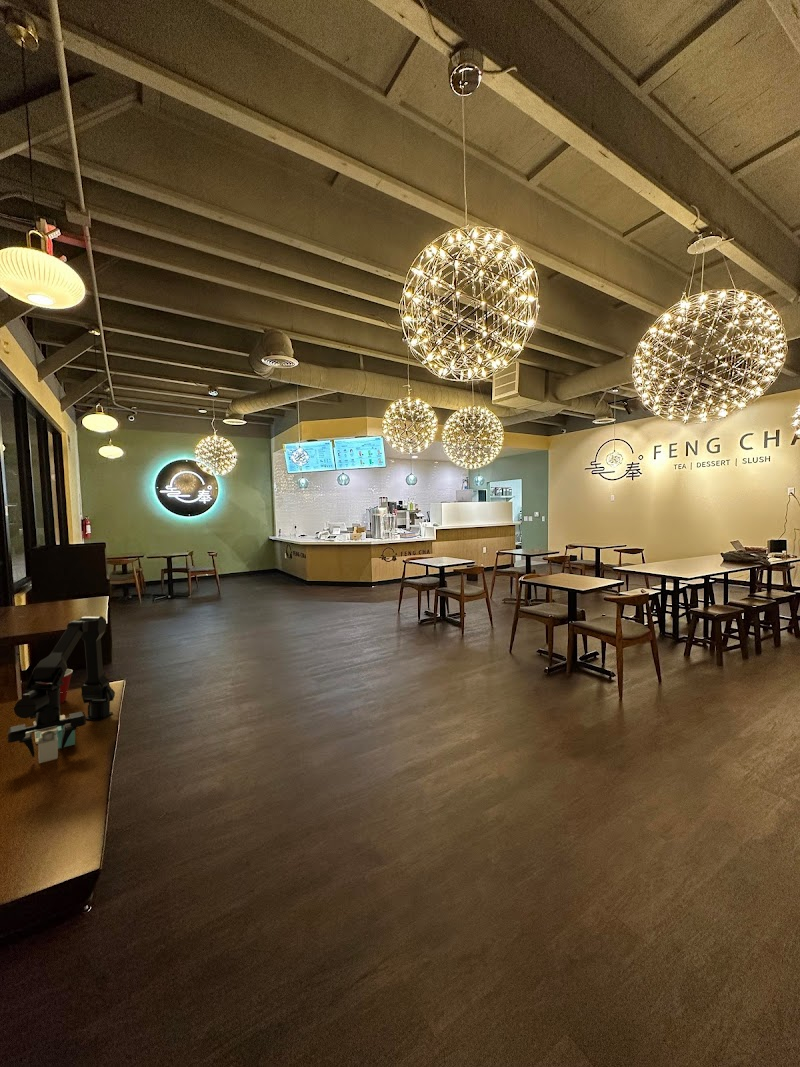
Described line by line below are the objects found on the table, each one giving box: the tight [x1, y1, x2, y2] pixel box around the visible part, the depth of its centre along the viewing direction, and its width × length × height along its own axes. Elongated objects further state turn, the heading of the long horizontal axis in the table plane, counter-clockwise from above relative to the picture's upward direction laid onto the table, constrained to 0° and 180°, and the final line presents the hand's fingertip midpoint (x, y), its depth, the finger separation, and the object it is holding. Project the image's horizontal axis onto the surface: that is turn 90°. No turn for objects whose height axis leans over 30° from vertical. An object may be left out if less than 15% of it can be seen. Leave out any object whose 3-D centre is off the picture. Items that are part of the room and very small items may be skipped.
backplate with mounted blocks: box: [32, 714, 67, 745], centre depth 154 cm, size 9×19×3 cm, turn 42°
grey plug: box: [37, 731, 59, 764], centre depth 136 cm, size 4×4×8 cm
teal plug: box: [57, 726, 76, 750], centre depth 145 cm, size 4×4×8 cm
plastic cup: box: [41, 668, 74, 704], centre depth 176 cm, size 11×11×12 cm
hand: (48, 752), depth 136 cm, fingers open, 7 cm apart
